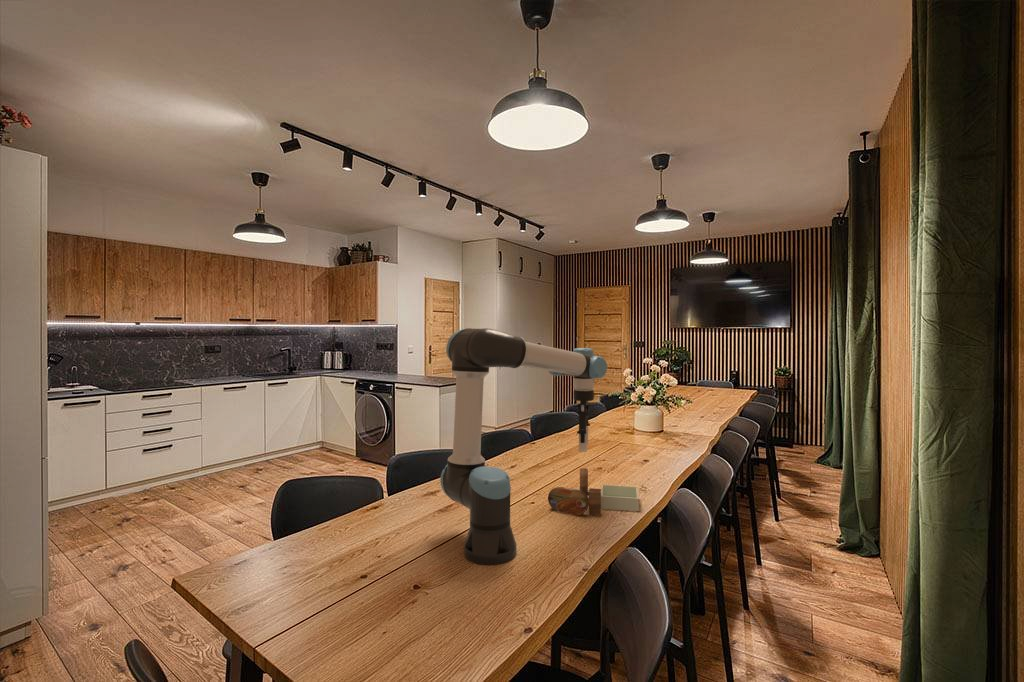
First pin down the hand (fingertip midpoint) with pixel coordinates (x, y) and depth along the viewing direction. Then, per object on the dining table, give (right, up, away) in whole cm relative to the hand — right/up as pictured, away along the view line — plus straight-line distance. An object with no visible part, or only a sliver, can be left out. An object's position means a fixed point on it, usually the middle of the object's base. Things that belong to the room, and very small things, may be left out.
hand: (583, 447), depth 178 cm
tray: (+13, -20, -2) cm, 24 cm away
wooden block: (+2, -21, -11) cm, 24 cm away
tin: (-7, -21, -10) cm, 24 cm away
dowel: (0, -20, 0) cm, 20 cm away
